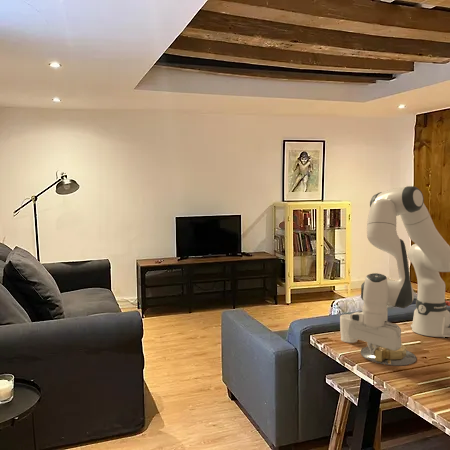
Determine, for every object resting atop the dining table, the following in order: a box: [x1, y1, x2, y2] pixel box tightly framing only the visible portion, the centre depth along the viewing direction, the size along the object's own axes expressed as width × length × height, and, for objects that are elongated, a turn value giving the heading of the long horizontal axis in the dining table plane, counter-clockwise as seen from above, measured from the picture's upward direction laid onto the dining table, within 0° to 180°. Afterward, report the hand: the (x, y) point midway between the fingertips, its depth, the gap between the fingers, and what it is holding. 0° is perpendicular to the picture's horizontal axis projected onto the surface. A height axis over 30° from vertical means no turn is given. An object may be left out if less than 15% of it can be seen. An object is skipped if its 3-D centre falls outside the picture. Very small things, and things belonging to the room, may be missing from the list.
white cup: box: [339, 313, 359, 344], centre depth 193 cm, size 8×8×10 cm
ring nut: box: [373, 343, 407, 362], centre depth 174 cm, size 16×12×4 cm
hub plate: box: [360, 346, 417, 367], centre depth 176 cm, size 20×20×5 cm
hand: (373, 354), depth 171 cm, fingers closed
